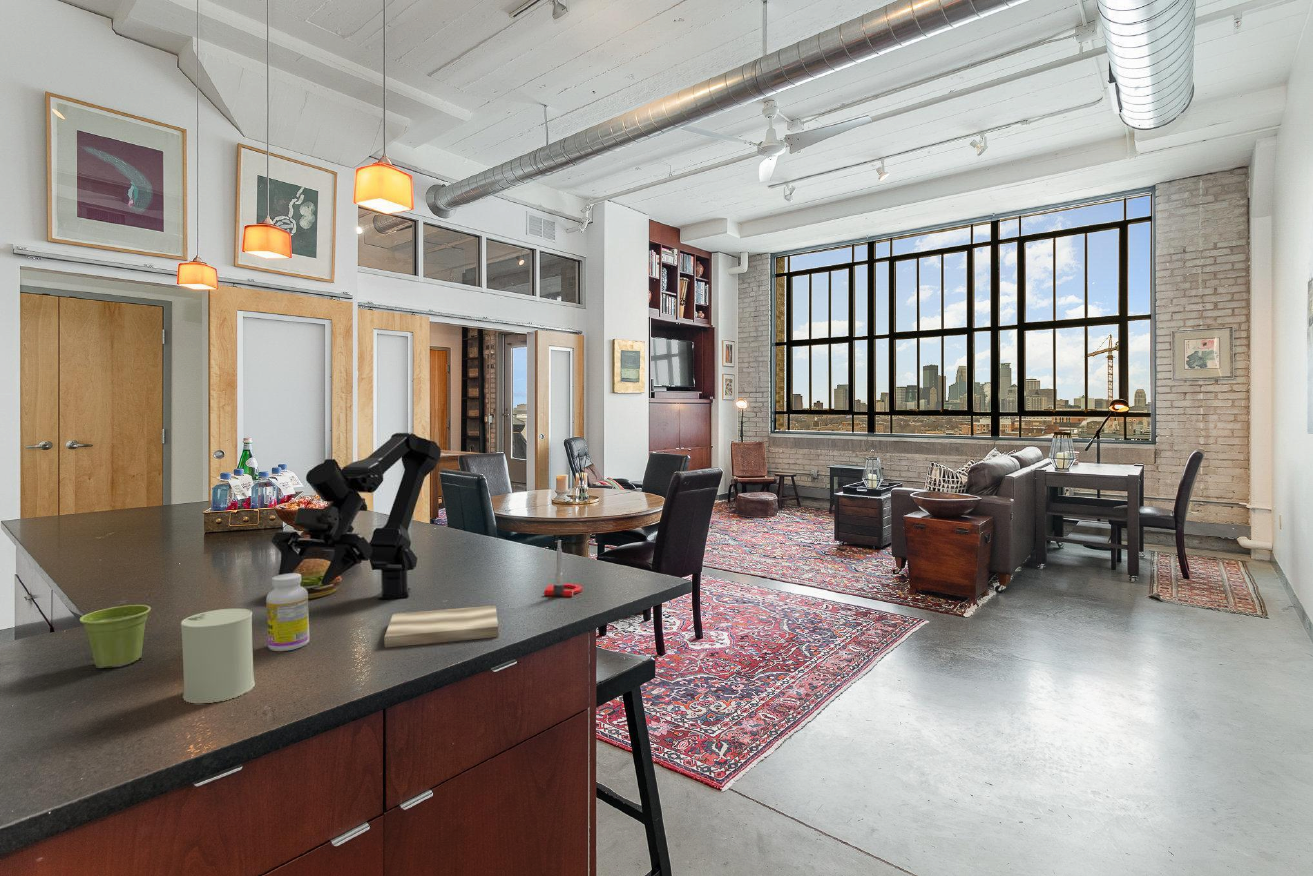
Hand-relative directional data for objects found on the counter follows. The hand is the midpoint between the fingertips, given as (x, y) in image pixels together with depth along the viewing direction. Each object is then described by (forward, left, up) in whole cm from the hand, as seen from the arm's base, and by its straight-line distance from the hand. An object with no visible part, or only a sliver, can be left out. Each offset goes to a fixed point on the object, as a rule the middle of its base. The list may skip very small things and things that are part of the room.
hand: (301, 583), depth 125 cm
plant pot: (+4, -28, -11) cm, 30 cm away
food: (-35, -7, -11) cm, 37 cm away
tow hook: (-19, +51, -11) cm, 56 cm away
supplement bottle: (+3, -2, -11) cm, 11 cm away
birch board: (+2, +25, -10) cm, 28 cm away
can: (+22, -7, -11) cm, 26 cm away
